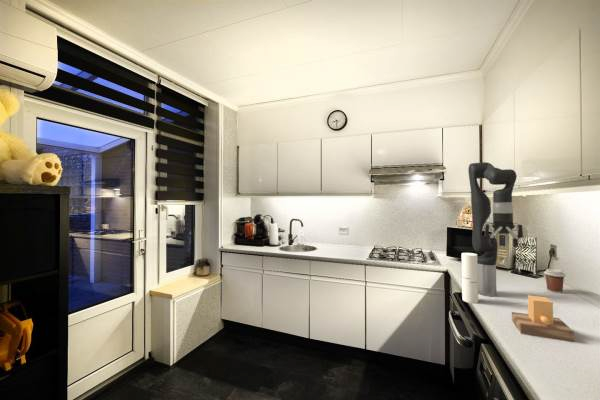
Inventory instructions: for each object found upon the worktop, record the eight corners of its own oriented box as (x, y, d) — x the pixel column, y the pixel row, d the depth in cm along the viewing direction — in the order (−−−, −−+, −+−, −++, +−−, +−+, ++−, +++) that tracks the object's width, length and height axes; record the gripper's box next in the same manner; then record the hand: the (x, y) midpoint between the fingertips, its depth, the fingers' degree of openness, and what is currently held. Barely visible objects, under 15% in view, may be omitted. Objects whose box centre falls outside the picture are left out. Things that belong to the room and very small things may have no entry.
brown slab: (511, 320, 118) (511, 298, 118) (559, 327, 111) (558, 303, 111) (521, 333, 107) (520, 309, 107) (574, 341, 100) (573, 315, 100)
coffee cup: (570, 294, 147) (570, 272, 147) (551, 293, 148) (550, 272, 148) (558, 288, 156) (557, 268, 156) (540, 288, 157) (539, 268, 157)
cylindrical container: (463, 297, 147) (462, 252, 146) (478, 300, 142) (478, 253, 142) (461, 301, 141) (460, 254, 141) (477, 304, 136) (476, 256, 136)
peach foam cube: (528, 316, 113) (528, 295, 113) (546, 318, 111) (546, 297, 110) (536, 326, 105) (536, 303, 105) (556, 328, 102) (556, 305, 102)
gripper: (519, 211, 125) (519, 245, 125) (482, 211, 131) (483, 244, 131) (524, 212, 118) (525, 248, 118) (486, 212, 124) (486, 246, 124)
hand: (503, 246), depth 124 cm, fingers open, 8 cm apart
